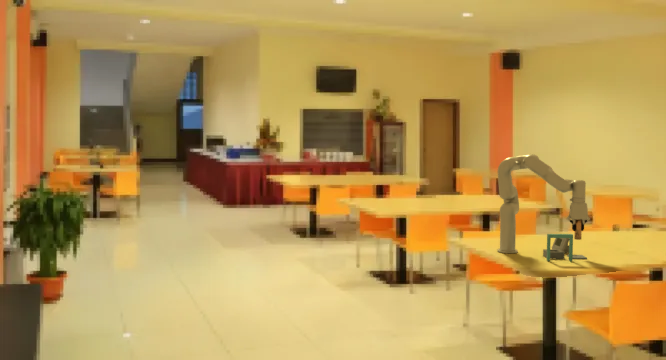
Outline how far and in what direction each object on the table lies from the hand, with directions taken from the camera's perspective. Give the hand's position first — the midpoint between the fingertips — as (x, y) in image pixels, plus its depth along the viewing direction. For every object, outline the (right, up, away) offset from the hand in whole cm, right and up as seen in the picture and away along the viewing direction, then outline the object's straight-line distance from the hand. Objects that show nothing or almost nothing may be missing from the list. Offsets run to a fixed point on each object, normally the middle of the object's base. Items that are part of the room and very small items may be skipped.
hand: (578, 230), depth 418 cm
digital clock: (-4, -15, +21) cm, 26 cm away
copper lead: (0, -5, 0) cm, 5 cm away
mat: (0, -16, +1) cm, 17 cm away
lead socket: (-14, -16, +2) cm, 22 cm away
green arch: (-15, -17, -10) cm, 25 cm away
